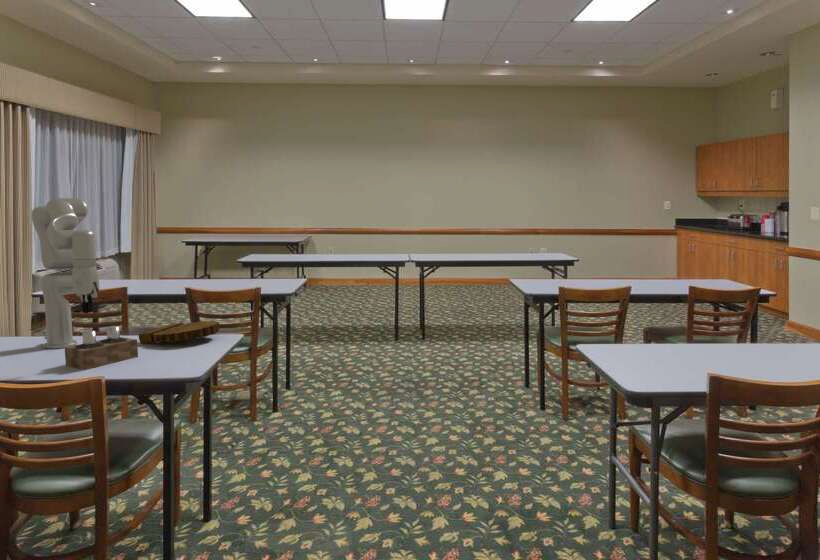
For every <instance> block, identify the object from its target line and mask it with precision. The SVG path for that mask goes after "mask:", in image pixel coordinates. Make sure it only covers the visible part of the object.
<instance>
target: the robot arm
mask: <svg viewBox="0 0 820 560" xmlns="http://www.w3.org/2000/svg"><path fill="white" fill-rule="evenodd" d="M88 211H89V208H88V205H87V203H86V202H85V200H83V199H82V198H74V197H73V198H71V197H69V198H67V197H56V198H52V199H50V200H48V201H47V202H46V204H45V205H41V206H36V207H34V208H33V209H32V210H31V221H32V224H33V227H34V229H35V231H36V234H37V236H38V238H39V245H40V247H39V248H40V255H41V261H42V265H43V267H44V269H46V270H51V271H52V270H54V271H56V270H72V271H68V272H67V271H66V272H65V271H64V272H63V271H62V272H53V273H52V272H51V273H47V274H44V275H43V276H41V278H40V287H41V292H42V296H43V301H44V315H45V327H46V336H44V338H43V339H44V340H46V342H45V343H43V344H42V347H43V348H44V349H49V350H50V349H52V350H53V349H65V347H70V346H75V345H78V340H75V339H73V323H72V322H73V321H72V308H71V307H72V306H71V303H70V301H69V300H68V299H66V298H65V297H64V296H65V295H73V294H74V295H76V296H77V297H78V298H80V302H81V306H82V307H81V308H82V313H83V314H89V313H94V300H95V298H98V293H99V292H100V280H99V274H98V270H97V269H98V268H97V257H96V256H97V255H96V238H95V233H94V231H92V230H88V229H77V227H78V226H79V225H80V224H81V223H82V222H83V221H84V220H85V219H86V218H87V216H88V213H89V212H88Z"/></svg>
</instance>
